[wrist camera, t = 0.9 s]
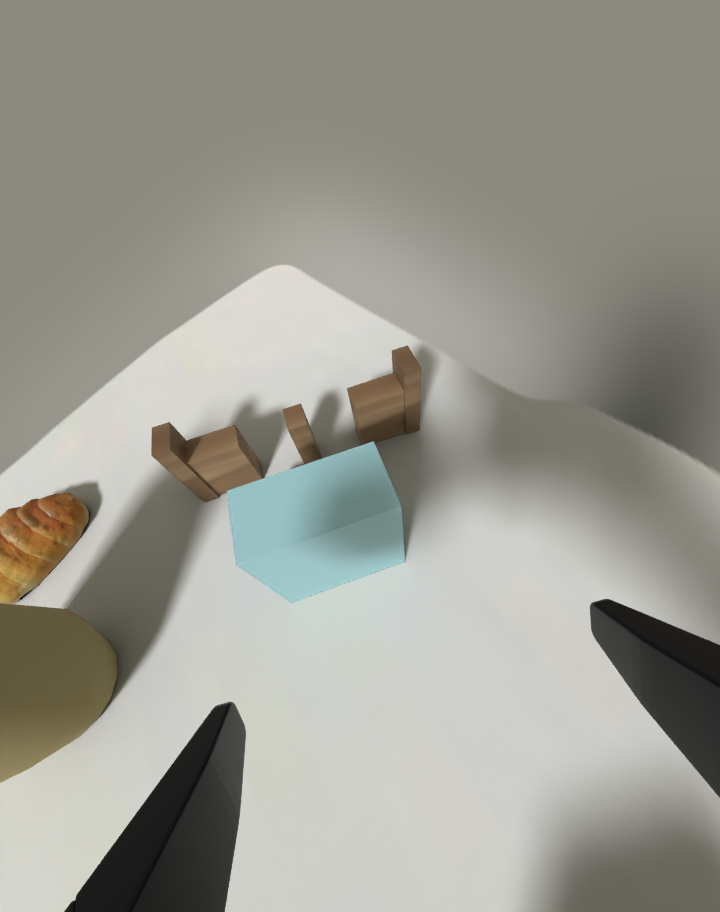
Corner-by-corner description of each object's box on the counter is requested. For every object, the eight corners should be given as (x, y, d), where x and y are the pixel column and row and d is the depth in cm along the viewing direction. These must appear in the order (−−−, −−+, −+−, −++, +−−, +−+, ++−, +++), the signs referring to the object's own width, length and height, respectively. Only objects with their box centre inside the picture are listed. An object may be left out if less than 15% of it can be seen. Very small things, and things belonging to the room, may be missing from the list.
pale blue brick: (404, 561, 24) (401, 506, 17) (291, 602, 24) (235, 565, 16) (367, 467, 29) (351, 389, 21) (271, 500, 28) (219, 432, 21)
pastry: (73, 485, 32) (35, 463, 28) (110, 529, 29) (73, 510, 26) (-36, 572, 28) (-93, 558, 25) (-5, 631, 26) (-65, 624, 22)
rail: (419, 429, 30) (421, 367, 24) (204, 502, 29) (151, 455, 23) (408, 409, 31) (407, 345, 25) (202, 478, 30) (151, 427, 24)
